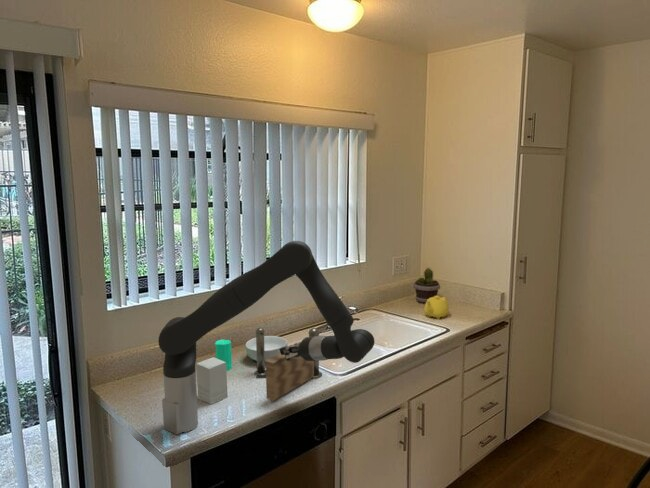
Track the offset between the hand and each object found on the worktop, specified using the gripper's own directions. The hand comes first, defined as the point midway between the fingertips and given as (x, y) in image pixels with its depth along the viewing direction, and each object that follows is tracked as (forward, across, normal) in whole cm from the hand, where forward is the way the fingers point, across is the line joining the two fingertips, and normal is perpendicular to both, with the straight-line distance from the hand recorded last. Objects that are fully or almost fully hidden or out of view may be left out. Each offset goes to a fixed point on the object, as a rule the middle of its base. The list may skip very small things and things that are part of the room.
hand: (281, 350), depth 169 cm
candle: (+38, -2, +6) cm, 38 cm away
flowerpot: (+26, -133, +23) cm, 137 cm away
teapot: (+10, -111, +26) cm, 115 cm away
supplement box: (+22, +17, +9) cm, 29 cm away
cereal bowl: (+32, -18, +9) cm, 38 cm away
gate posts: (+16, -12, +14) cm, 24 cm away
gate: (+6, -5, +15) cm, 17 cm away
